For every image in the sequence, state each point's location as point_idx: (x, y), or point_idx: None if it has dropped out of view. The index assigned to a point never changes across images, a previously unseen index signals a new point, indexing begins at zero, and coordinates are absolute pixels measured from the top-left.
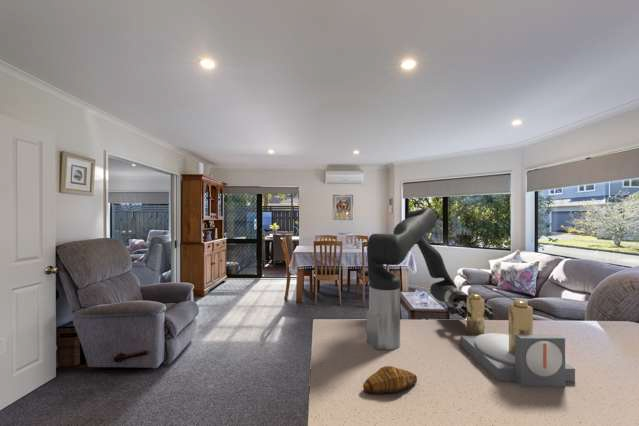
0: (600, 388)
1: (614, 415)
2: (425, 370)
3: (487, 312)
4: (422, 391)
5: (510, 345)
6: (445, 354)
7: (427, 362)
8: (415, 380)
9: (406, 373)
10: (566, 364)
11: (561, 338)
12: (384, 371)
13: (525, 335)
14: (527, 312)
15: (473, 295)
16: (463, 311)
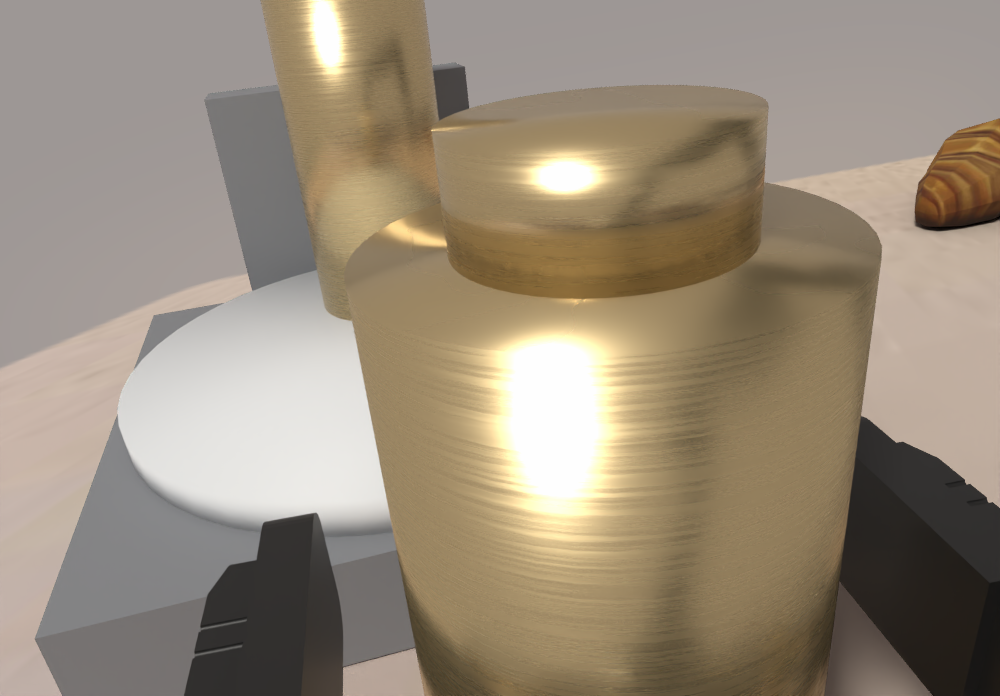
0: (101, 370)
1: (239, 283)
2: (927, 277)
3: (313, 624)
4: (872, 216)
5: None
6: (890, 400)
7: (957, 316)
8: (916, 202)
9: (950, 160)
10: (159, 330)
11: (230, 91)
12: None
13: None
14: None
15: (663, 90)
16: (875, 436)
